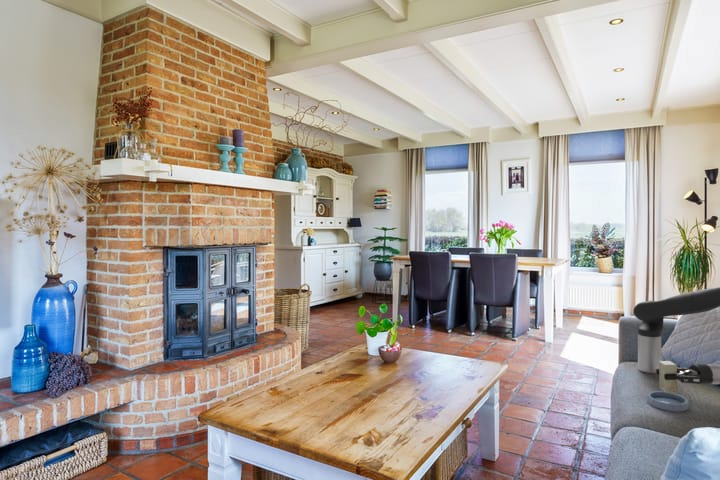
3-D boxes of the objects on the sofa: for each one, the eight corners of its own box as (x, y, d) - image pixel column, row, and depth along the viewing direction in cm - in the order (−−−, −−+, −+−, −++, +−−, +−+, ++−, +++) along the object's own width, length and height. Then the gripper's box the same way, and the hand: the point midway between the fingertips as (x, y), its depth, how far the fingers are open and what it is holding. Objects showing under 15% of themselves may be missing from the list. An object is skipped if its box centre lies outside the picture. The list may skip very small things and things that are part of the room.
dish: (641, 396, 177) (641, 390, 177) (675, 397, 176) (675, 391, 176) (658, 410, 165) (658, 404, 164) (695, 411, 163) (695, 405, 163)
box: (677, 393, 167) (677, 365, 166) (665, 393, 168) (664, 364, 167) (671, 388, 172) (670, 360, 171) (658, 387, 173) (658, 360, 172)
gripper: (695, 358, 174) (650, 358, 177) (720, 370, 160) (670, 371, 163) (696, 376, 175) (650, 376, 177) (720, 390, 160) (671, 390, 163)
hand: (660, 374), depth 170 cm, fingers closed on box, 5 cm apart
